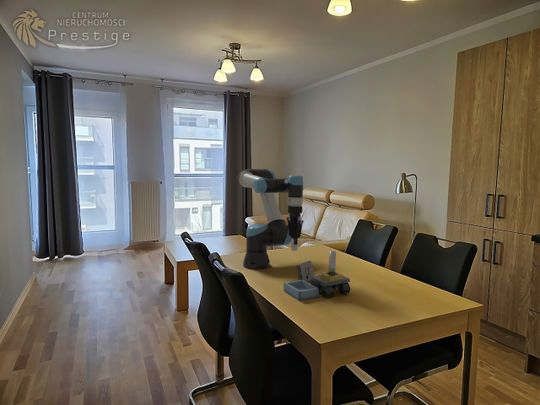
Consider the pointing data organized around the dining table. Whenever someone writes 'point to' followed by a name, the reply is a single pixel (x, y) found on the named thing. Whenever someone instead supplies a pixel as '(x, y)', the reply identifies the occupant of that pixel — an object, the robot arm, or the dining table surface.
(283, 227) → the robot arm
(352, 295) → the dining table surface
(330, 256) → the pin
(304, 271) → the electrical switch
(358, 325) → the dining table surface
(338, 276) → the trolley
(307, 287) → the tray
